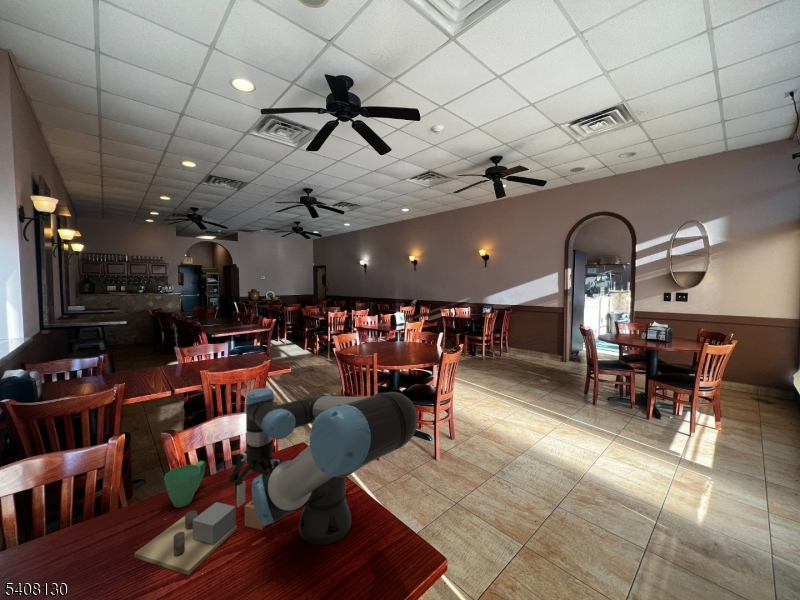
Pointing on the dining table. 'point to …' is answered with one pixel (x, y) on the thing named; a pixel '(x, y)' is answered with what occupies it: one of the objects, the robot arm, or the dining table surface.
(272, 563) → the dining table surface
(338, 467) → the robot arm
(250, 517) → the orange open-topped box
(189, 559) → the housing board
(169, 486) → the green rounded tapered part
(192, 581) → the dining table surface
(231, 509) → the cover
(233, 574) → the dining table surface
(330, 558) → the dining table surface
